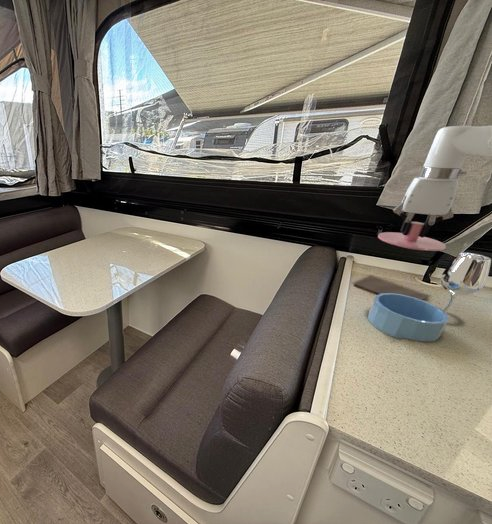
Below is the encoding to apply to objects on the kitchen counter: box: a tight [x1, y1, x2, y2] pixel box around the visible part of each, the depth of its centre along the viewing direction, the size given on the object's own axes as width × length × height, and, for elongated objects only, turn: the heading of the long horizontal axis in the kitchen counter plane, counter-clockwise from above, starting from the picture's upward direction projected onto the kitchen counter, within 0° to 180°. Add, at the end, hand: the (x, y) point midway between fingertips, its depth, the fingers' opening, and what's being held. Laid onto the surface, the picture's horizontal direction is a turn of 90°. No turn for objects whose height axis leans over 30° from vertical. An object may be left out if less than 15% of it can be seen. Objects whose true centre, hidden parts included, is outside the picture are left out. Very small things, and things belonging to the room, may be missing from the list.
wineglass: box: [439, 252, 492, 314], centre depth 74 cm, size 8×8×20 cm
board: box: [353, 276, 428, 301], centre depth 92 cm, size 16×12×1 cm
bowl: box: [367, 293, 450, 343], centre depth 74 cm, size 15×15×6 cm
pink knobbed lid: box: [377, 221, 447, 252], centre depth 84 cm, size 16×16×7 cm
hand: (412, 234), depth 84 cm, fingers closed on pink knobbed lid, 3 cm apart
